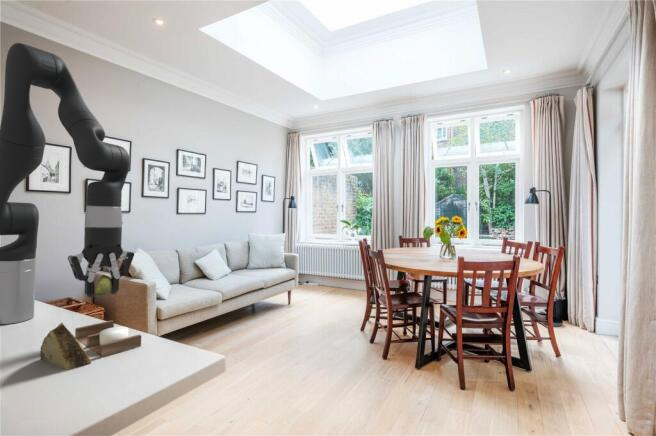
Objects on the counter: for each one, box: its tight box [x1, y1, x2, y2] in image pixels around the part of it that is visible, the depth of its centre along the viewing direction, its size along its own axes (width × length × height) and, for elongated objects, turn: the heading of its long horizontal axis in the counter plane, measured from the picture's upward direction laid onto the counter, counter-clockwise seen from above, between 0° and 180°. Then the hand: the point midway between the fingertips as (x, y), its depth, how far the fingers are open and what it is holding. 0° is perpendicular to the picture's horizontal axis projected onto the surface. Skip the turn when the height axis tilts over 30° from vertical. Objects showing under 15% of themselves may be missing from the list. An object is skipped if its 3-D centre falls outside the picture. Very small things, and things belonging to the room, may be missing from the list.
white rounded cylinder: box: [100, 326, 129, 347], centre depth 77 cm, size 6×6×4 cm
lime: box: [94, 274, 112, 297], centre depth 81 cm, size 4×5×5 cm
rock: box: [39, 322, 92, 370], centre depth 70 cm, size 11×9×10 cm
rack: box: [74, 320, 142, 358], centre depth 79 cm, size 16×8×4 cm, turn 54°
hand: (101, 294), depth 81 cm, fingers closed on lime, 4 cm apart
